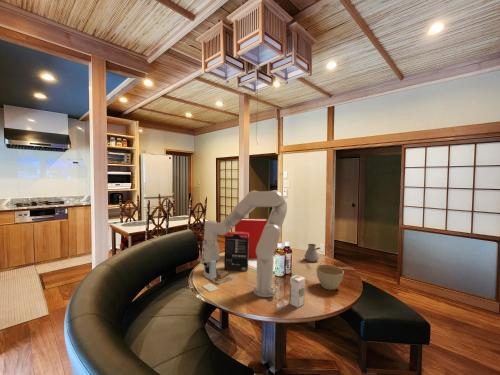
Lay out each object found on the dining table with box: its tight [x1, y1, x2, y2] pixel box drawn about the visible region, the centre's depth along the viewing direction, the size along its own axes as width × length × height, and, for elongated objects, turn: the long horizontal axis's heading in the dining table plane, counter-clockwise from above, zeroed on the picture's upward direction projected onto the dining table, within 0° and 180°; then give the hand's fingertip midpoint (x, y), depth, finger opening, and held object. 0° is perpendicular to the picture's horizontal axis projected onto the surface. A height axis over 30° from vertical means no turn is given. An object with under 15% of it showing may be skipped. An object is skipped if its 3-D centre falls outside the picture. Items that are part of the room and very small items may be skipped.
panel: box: [203, 261, 217, 280], centre depth 138 cm, size 8×3×10 cm, turn 42°
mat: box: [201, 282, 219, 293], centre depth 139 cm, size 9×6×1 cm, turn 42°
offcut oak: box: [215, 275, 230, 282], centre depth 150 cm, size 4×8×2 cm, turn 132°
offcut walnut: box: [216, 270, 229, 279], centre depth 150 cm, size 4×6×2 cm, turn 143°
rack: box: [202, 268, 233, 285], centre depth 153 cm, size 18×11×2 cm, turn 42°
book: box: [234, 217, 268, 259], centre depth 194 cm, size 27×8×32 cm, turn 88°
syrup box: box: [288, 274, 306, 308], centre depth 122 cm, size 6×6×14 cm
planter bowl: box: [315, 264, 345, 291], centre depth 143 cm, size 16×16×11 cm
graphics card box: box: [223, 231, 249, 272], centre depth 167 cm, size 17×7×27 cm, turn 85°
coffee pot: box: [304, 243, 321, 263], centre depth 184 cm, size 21×12×15 cm, turn 8°
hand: (210, 271), depth 138 cm, fingers closed on panel, 3 cm apart
